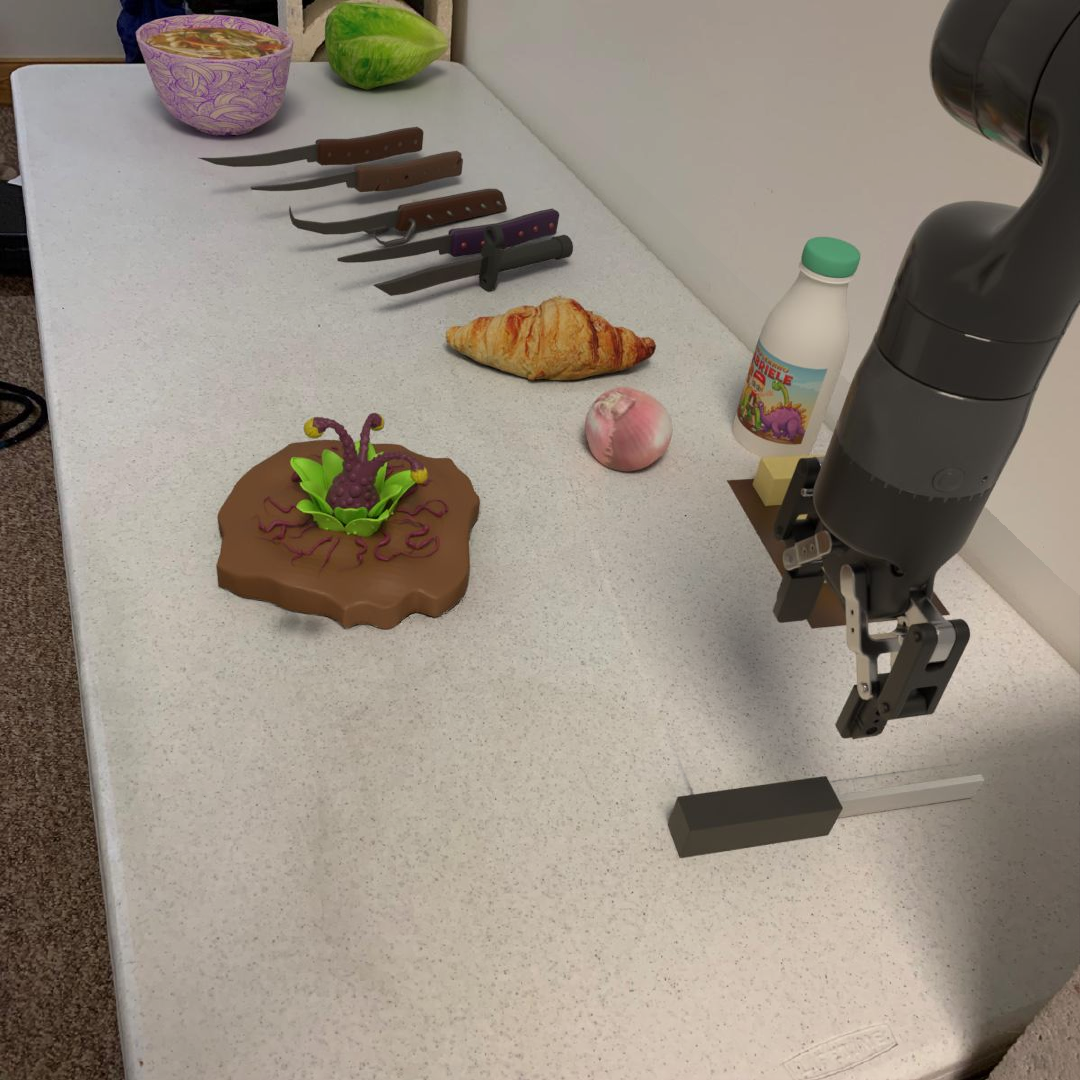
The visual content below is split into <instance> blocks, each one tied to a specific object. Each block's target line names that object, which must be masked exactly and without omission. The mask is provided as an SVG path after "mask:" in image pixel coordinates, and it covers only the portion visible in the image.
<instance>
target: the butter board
mask: <svg viewBox="0 0 1080 1080" xmlns="http://www.w3.org/2000/svg"><path fill="white" fill-rule="evenodd" d="M753 481H754V478H743V479H742V478H741V479H740V478H739V479H727V480H726V482H727V484H728V485H729V487H730V489H731V491H732V492H733V494H734V495H735V498H736V499H737V501H738V503H739V505H740V506H741V508H742V510H743V512H744V513H745V515H746V517H747V519H748V520H749V522H750V524H751V525H752V527H753V529H754V530H755V533H756V534H757V536H758V538H759V539H760V542H761V543H762V545H763V547H764V548H765V550H766V552H767V554H768V555H769V558H770V559H771V560H772V562H773V565H774V566H775V568H776V569H777V571H778V573H779V575H780V576H781V579H782V578H783V575H784V573H785V570H786V568H785V567H784V564H783V553H784V551H785V550H786V546H785V543H784V541H777V540H776V539H775V537H774V533H773V526H774V522H775V520H776V517H777V515H778V512H779V510H780V507H781V505H774V506H765V505H764V503H763V501H762V500H761V498H760V496H759V495H758V493H757V491H756V490H755V488H754V486H753ZM805 514H808V513H804V514H801V515H805ZM931 602H932V603H933V605H934V606H935V607H936V608H937V610H938V611H939V612H940V613H941V615H942V616H943V617H944V616H950V615H951V613H950V612H949V611H948V610H947V607H946V606H945V605H944V604H943V602H942V601H941V600H940V597H938V595H937V593H936V592H935V591H934V590H933V597H932V600H931ZM805 621H807V623H808V625H809V627H810V629H822V628H832V627H842V626H846V613H845V611H844V610H843V608H842V606H841V603H840V601H839V598H838V596H837V594H836V593H835V592H834V591H833V590H832V589H831V588H830V587H829V585H828V584H827V583H823V586H822V589H821V591H820V594H819V596H818V599H817V601H816V604H815V606H814V609H813V611H812V614H811V615H810V617H809V618H807V619H806V620H805ZM892 621H893V622H894V621H897V618H893V619H889V620H884V621H875V622H868V624H873V623H881V622H882V623H884V622H892Z"/></svg>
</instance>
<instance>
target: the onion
mask: <svg viewBox="0 0 1080 1080" xmlns="http://www.w3.org/2000/svg"><path fill="white" fill-rule="evenodd" d="M673 426H674V425H673V421H672V417H671V415H670V412H669V410H668V409H667V408H666V407H665V405H664V404H663V403H662V402H661V401H660V400H658V399H657V398H656V397H655V396H653V395H651V394H649V393H647V392H645V391H642V390H639V389H637V388H633V387H629V386H628V387H627V386H618V387H613V388H609V390H606V391H604V392H603V393H601V394H600V395H599V396H598V397H597V398H596V399H595V400H594V401H593V402H592V404H591V405H590V407H589V409H588V411H587V413H586V416H585V422H584V429H585V436H586V441H587V442H588V447H589V450H590V451H591V454H592V455H593V457H594V458H595V460H596V461H597V462H599V463H600V464H602V466H605V467H606V468H608V469H611V470H615V471H618V472H635V471H639V470H642V469H644V468H647V467H648V466H650V465H652V464H653V463H655V461H658V459H659V458H661V456H663V454H664V453H665V452H666V450H667V449H668V447H669V446H670V444H671V440H672V436H673V431H674V429H673V428H674V427H673Z"/></svg>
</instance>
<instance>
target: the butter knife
mask: <svg viewBox="0 0 1080 1080" xmlns="http://www.w3.org/2000/svg"><path fill="white" fill-rule="evenodd" d="M984 782H985V778H984V777H983V775H982V774H981V773H978V774H972V775H965V776H958V777H950V778H944V779H943V778H942V779H937V780H931V781H923V782H916V783H910V784H903V785H896V786H889V787H882V788H876V789H867V790H862V791H854V792H847V793H841V794H836V792H835V789H834V788H833V786H832V784H831V782H830V779H829V778H828V776H827V775H822V776H816V777H807V778H802V779H795V780H794V779H793V780H786V781H779V782H773V783H766V784H759V785H752V786H745V787H737V788H730V789H723V790H716V791H708V792H701V793H694V794H693V793H692V794H685V795H679V796H677V797H676V799H675V803H674V805H673V808H672V811H671V814H670V817H669V819H668V823H667V825H668V829H669V832H670V834H671V836H672V840H673V843H674V846H675V848H676V850H677V853H678V856H679V858H680V859H683V858H684V859H685V858H688V857H689V858H690V857H697V856H702V855H703V856H704V855H709V854H715V853H723V852H727V851H728V852H729V851H735V850H741V849H747V848H753V847H754V848H755V847H761V846H766V845H774V844H780V843H786V842H793V841H798V840H799V841H800V840H806V839H811V838H818V837H825V836H829V835H830V833H831V831H832V829H833V827H834V825H835V824H836V822H837V820H838V818H839V819H840V818H845V817H852V816H853V817H854V816H859V815H864V814H866V815H867V814H874V813H878V812H886V811H891V810H899V809H905V808H911V807H918V806H919V807H920V806H925V805H931V804H933V805H934V804H937V803H945V802H951V801H959V800H965V799H966V800H967V799H970V798H974V797H975V795H976V793H977V792H978V791H979V789H980V788H981V786H982V785H983V783H984Z"/></svg>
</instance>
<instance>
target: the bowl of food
mask: <svg viewBox="0 0 1080 1080" xmlns="http://www.w3.org/2000/svg"><path fill="white" fill-rule="evenodd" d="M135 36H136V42H137V44H138V47H139V50H140V52H141V55H142V57H143V60H144V63H145V66H146V69H147V71H148V75H149V77H150V79H151V83H152V85H153V87H154V90H155V92H156V94H157V96H158V99H159V101H160V103H161V104H162V105H163V107H164V108H165V110H167V111H168V113H170V114H171V115H172V116H173V117H174V118H175V119H177V120H179V121H181V122H182V123H184V124H186V125H189V126H191V127H193V128H195V129H196V130H198V131H199V132H201V133H204V134H207V135H211V136H218V135H236V136H242V135H246V134H248V133H251V132H252V131H254V129H255V128H259V127H260V126H263V125H264V124H265V123H267V122H268V121H270V120H272V119H273V118H275V116H276V115H277V113H278V112H279V110H280V108H281V106H282V105H283V102H284V98H285V95H286V91H287V85H288V79H289V72H290V67H291V62H292V56H293V51H294V50H293V49H294V43H295V42H294V39H293V38H292V36H291V34H290V33H288V32H287V31H285V29H282V28H281V27H278V26H277V25H274V24H270V23H267V22H264V21H260V20H256V19H251V18H247V17H240V16H231V15H223V14H186V15H174V16H173V15H172V16H168V17H162V18H158V19H154V20H152V21H149V22H146V23H144V24H141V26H140V27H139V28H138V29H137V30H136V31H135Z"/></svg>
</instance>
